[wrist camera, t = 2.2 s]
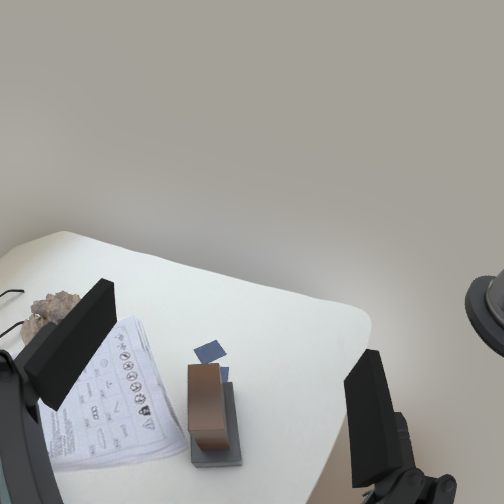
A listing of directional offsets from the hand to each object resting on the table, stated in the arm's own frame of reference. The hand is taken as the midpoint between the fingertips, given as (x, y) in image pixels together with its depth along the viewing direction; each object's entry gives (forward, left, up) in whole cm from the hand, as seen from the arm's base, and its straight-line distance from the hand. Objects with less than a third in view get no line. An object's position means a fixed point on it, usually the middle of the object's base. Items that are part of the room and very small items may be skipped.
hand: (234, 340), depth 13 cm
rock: (+34, +4, -21) cm, 41 cm away
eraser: (+4, -1, -21) cm, 21 cm away
